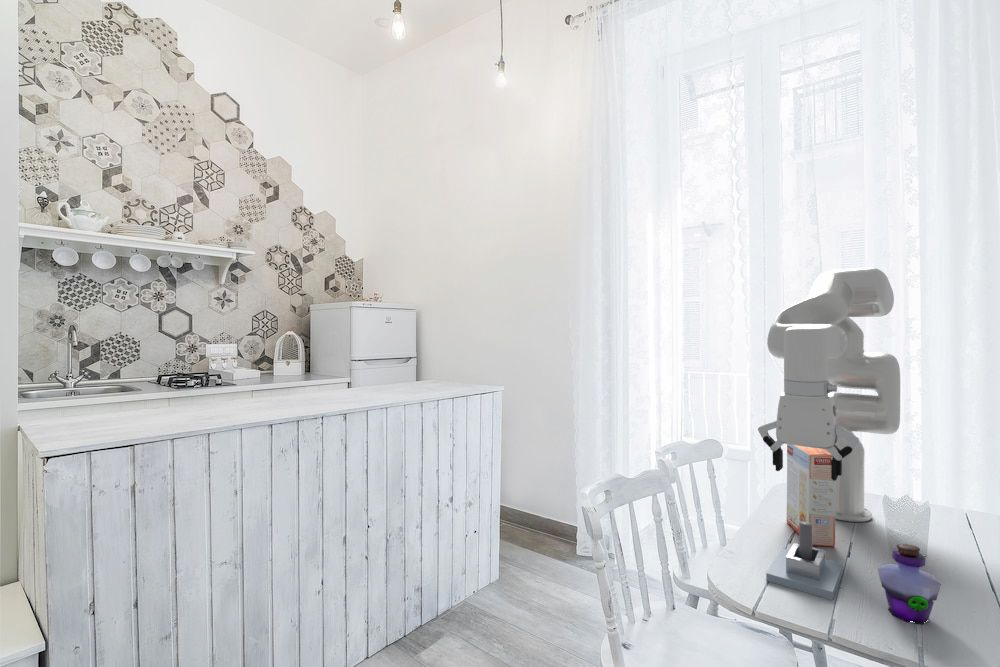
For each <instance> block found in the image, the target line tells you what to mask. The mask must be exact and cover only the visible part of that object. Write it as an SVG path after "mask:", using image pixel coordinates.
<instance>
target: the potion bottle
mask: <svg viewBox="0 0 1000 667" xmlns="http://www.w3.org/2000/svg"><path fill="white" fill-rule="evenodd" d="M920 552H921V549H920V548H919V546H916V545H912V544H908V543H897V544H896V548H895V549H893V550H892V552H891V554H892V556H891V558H892V559H893V560H894V561H895V563H897V564H895V563H894V564H893V563H886V564H884V565H881V566H879V567H877V571H878V575H879V580H880V583H881V586H882V588H883V589H884V594H885V597H886V600H887V604H888V608H887V610H888V612H889V613H890V614H891V616H893V617H895V618H897V619H899V620H900V621H901V620H902V621H903V622H906V623H908V622H910V621H913V622H915V623H914V624H917V625H925V624H924V622H926V621H927V620H929V619H930V616H931V613H932V609H933V605H934V603H935V602H934V601H937V600H938V597H939V594H940V590H941V588H942V583H941V582H940V581H939V580H938V579H937V577H935V576H934V575H933V574H932V573H929V572H927V571H923V570H922V569H920V568H922V567H925V566H926V557H925V556H924V555H923V554H922V553H920Z"/></svg>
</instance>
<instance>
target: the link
mask: <svg viewBox="0 0 1000 667" xmlns="http://www.w3.org/2000/svg"><path fill="white" fill-rule="evenodd" d="M789 550H790V551H789V553H788V554H787V556H786V572H788V573H792V574H796V575H799V576H803V577H807V578H810V579H814V580H818V581H820V578H821V575H822V573H823V570H824V567H825V559H826V550H825V549H822V548H817V547H814V546H812V561H809V560H805V559H801V558H799V543H796V542H793V543H792V545H791V547H790V549H789Z"/></svg>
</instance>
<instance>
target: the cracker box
mask: <svg viewBox="0 0 1000 667" xmlns="http://www.w3.org/2000/svg"><path fill="white" fill-rule="evenodd" d="M832 458H833V456H832V455H831V454H830V452H828V451H826V450H824V449H821V448H813V447H805V446H797V445H790V444H786V522H787V523H788V525H789V524H790V525H791V526H790V525H789V526H790V527H791V528H792V529H793V530H794V531H795V532H796V533H797V534H798V535H799V522H808V523H811V524H812V546H818V547H819V546H821V547H831V548H832V547H833V548H835V547H836V519H835V499H836V481H835V480H833V479H831V460H832Z"/></svg>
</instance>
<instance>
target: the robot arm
mask: <svg viewBox="0 0 1000 667" xmlns="http://www.w3.org/2000/svg"><path fill="white" fill-rule="evenodd" d="M894 296H895V295H894V292H893V288H892V286H891V282H890V281H889V278H888V277H887V275H886V274H885V273H884V271H883V270H880V269H879V268H876V267H862V268H861V267H860V268H846V269H845V268H843V269H842V268H841V269H832V270H828V271H825V272H823V273H821V274H819V275H818V276H817V278H816V279H815V281H814V282H813V284H812V287H811V290H810V292H809V294H808V297H807V298H806V299H803V300H801V301H799V302H796V303H794V304H793V305H791V306H789V307H786V308H785V309H783V310H781V311H780V312H779V313H778V314H777V315H776V317H775V318H774V320H773V321H772V324H771V326H770V328H769V330H768V334H767V335H768V336H767V342H766V343H767V349H768V351H769V353H770V354H771V356H773V357H775V358H778V359H781V360H783V392H781V393H780V395H779V400H778V401H779V402H778V405H777V413H776V420H774V421H771V422H769V423H766V424H763V425H760V426H759V427H758V428H757V430H758V433H759V435H760V437H761V438H762V441H763V443H765V445H767V446H768V447H769V449H770V451H772V466H775V471H776V472H780V471H781V470H782V469H783V467H784V453H783V452H784V451H783V450H784V449H782V446H783V445H784V444H785V445H787V444H790V445H797V446H805V447H813V448H821V449H824V450H826V451H828V452H830V454H831V455H832V456H833V458H832V460H831V479H833V480H835V481H836V499H835V520H839V521H845V522H854V523H855V522H856V523H858V522H867V521H870V520H871V519H872V517H873V515H872V512H871V511H870V510H869V509H868V508H865V448H864V445H863V443H862V442H861V441H860V438H859V437H858V436H856V435H855V434H854V432H860V433H870V434H878V435H893V434H895V433H896V432H897V431H898V430H899V427H900V424H901V368H900V363H899V361H898V359H897V358H896V357H895V356H894V355H893V354H890V353H887V352H871V351H870V352H867V351H865V350H864V349H865V348H864V342H865V341H864V340H865V336H864V332H863V330H862V329H861V327H860V326H859V325H858V324H857V323H856V322H855V320H853V319H852V318H864V317H865V318H867V317H868V318H869V317H870V318H871V317H875V318H877V317H884V316H886V315H889V314H890V312H891V311H892V309H893V308H894V303H895V302H894V301H895V297H894ZM838 388H842V389H855V390H856V389H857V390H858V389H859V390H871V391H875V392H876V393H877V395H875V394H874V395H872V394H859V393H849V392H848V393H847V392H838ZM774 429H776V430H775V435H776V439H777V440H775V439H773V437H771V435H770V434H769V431H771V430H774Z"/></svg>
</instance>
